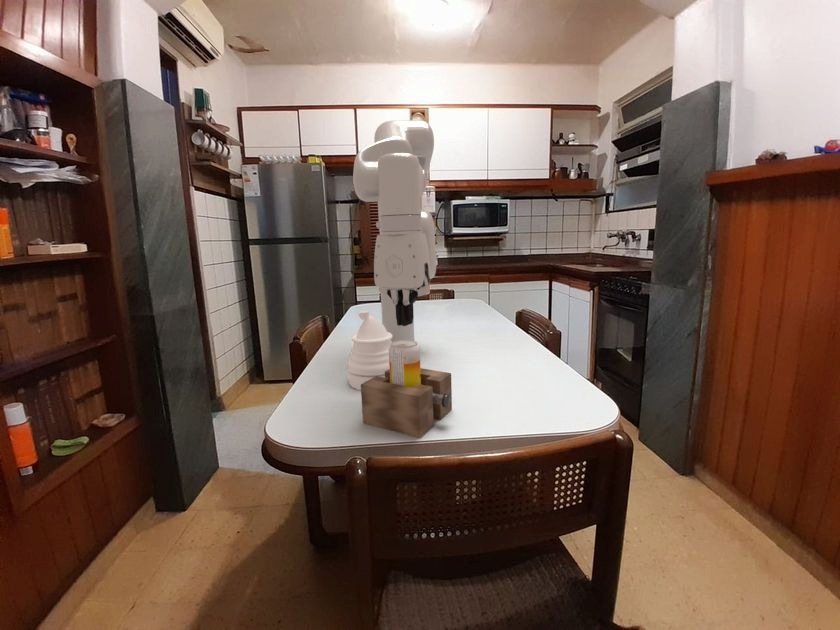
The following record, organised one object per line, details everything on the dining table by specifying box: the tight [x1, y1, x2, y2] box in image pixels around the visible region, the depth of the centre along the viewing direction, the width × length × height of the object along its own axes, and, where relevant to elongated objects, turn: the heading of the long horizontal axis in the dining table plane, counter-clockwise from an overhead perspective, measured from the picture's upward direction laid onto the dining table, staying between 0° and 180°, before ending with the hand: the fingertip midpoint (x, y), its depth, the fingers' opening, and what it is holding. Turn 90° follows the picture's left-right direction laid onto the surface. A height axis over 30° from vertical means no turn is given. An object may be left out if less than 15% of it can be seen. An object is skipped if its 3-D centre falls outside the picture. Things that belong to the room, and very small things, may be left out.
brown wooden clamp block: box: [360, 367, 453, 439], centre depth 80 cm, size 13×13×8 cm
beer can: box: [389, 340, 421, 388], centre depth 79 cm, size 6×6×15 cm
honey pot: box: [347, 310, 393, 391], centre depth 99 cm, size 13×13×18 cm
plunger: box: [433, 392, 453, 408], centre depth 77 cm, size 5×3×3 cm, turn 60°
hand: (405, 324), depth 77 cm, fingers closed
